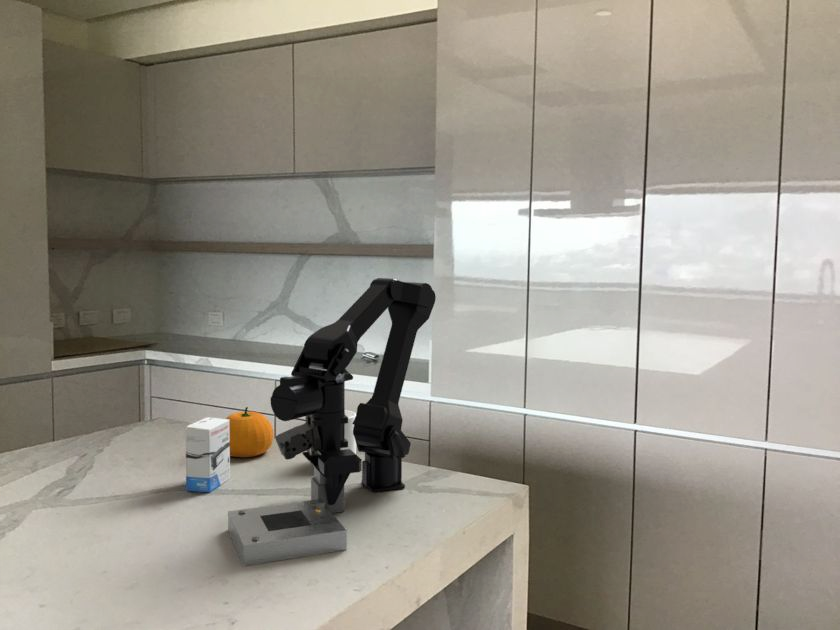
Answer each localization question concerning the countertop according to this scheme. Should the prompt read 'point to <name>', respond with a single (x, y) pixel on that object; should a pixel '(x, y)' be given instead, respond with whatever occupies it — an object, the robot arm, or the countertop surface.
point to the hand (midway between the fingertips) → (327, 499)
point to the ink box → (207, 454)
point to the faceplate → (285, 531)
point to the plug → (320, 492)
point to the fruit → (249, 434)
